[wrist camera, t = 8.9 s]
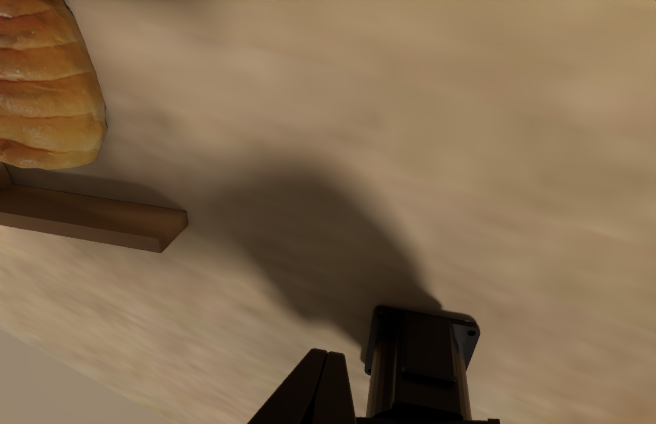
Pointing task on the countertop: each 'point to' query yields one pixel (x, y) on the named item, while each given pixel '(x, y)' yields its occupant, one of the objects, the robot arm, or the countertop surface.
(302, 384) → the robot arm
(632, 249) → the countertop surface
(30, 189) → the box
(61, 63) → the pastry
